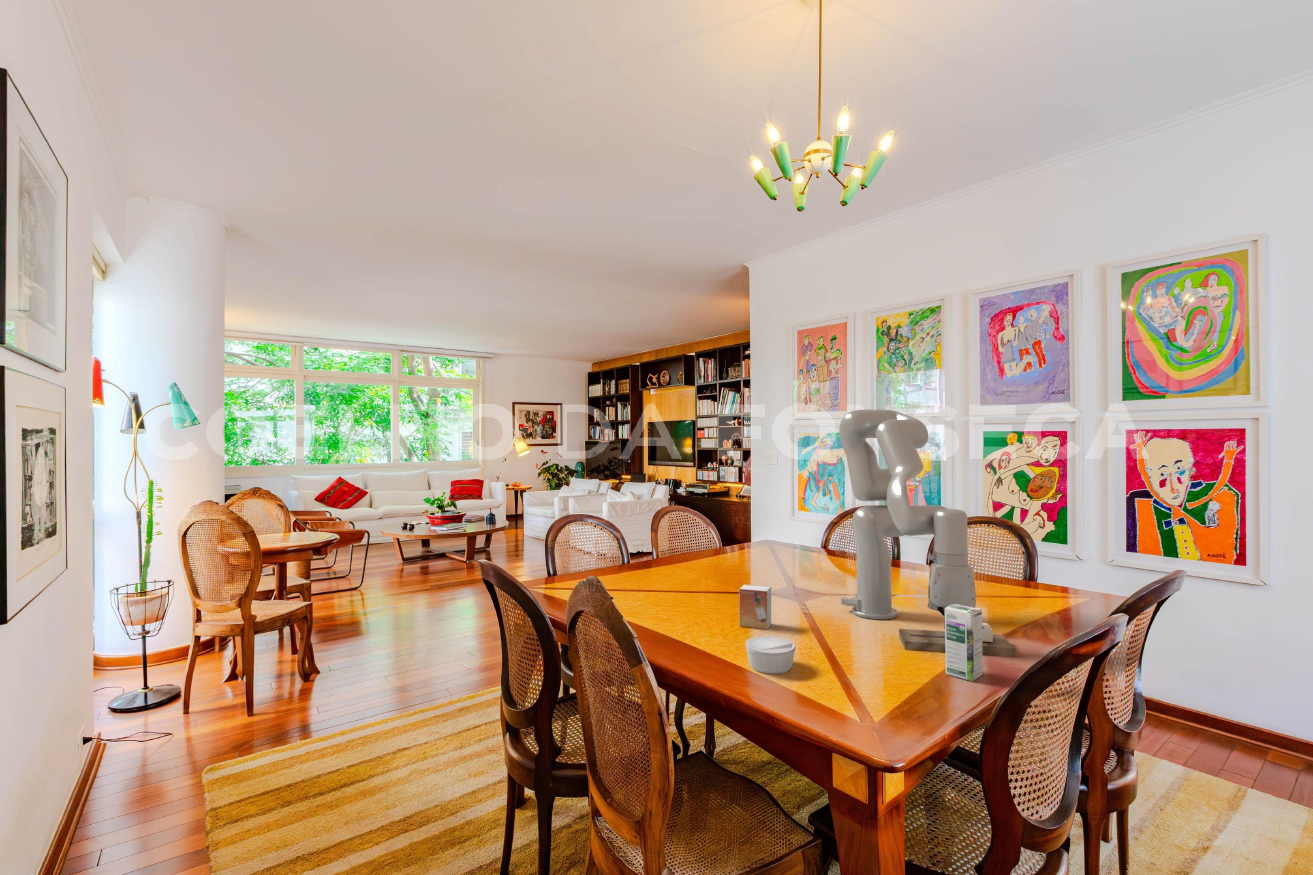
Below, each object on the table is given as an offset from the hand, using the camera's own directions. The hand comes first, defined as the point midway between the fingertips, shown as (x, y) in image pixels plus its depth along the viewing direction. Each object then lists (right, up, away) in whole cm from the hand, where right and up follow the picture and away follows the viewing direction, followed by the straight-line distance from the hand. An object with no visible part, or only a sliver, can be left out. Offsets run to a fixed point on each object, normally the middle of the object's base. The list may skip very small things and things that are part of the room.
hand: (951, 633), depth 148 cm
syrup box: (-6, -3, -18) cm, 20 cm away
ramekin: (-47, -4, -12) cm, 49 cm away
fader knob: (+6, 0, -2) cm, 6 cm away
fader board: (0, -3, 0) cm, 3 cm away
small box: (-45, -4, +19) cm, 49 cm away
